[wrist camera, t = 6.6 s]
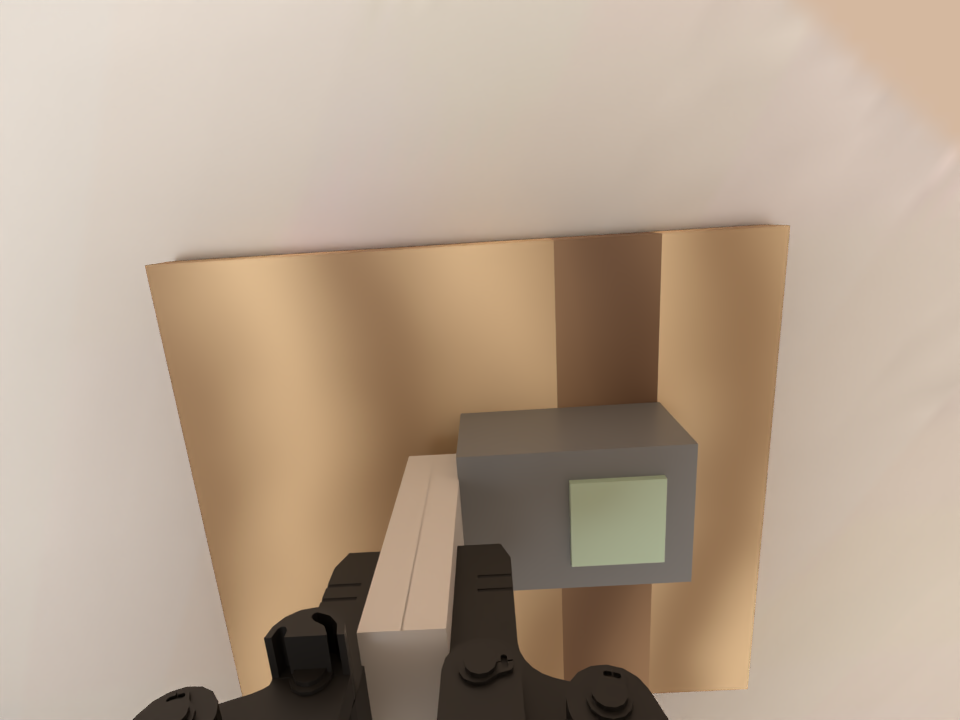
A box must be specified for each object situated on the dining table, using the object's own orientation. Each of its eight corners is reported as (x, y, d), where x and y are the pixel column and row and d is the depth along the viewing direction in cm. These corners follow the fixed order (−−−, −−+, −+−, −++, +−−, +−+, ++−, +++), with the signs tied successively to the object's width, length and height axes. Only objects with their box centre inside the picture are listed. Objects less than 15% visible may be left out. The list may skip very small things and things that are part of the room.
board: (259, 683, 20) (246, 711, 19) (168, 261, 16) (144, 265, 15) (732, 661, 20) (747, 688, 19) (767, 224, 16) (790, 225, 15)
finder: (469, 529, 17) (466, 598, 14) (460, 413, 16) (455, 461, 13) (656, 519, 17) (694, 586, 14) (659, 402, 16) (701, 447, 13)
